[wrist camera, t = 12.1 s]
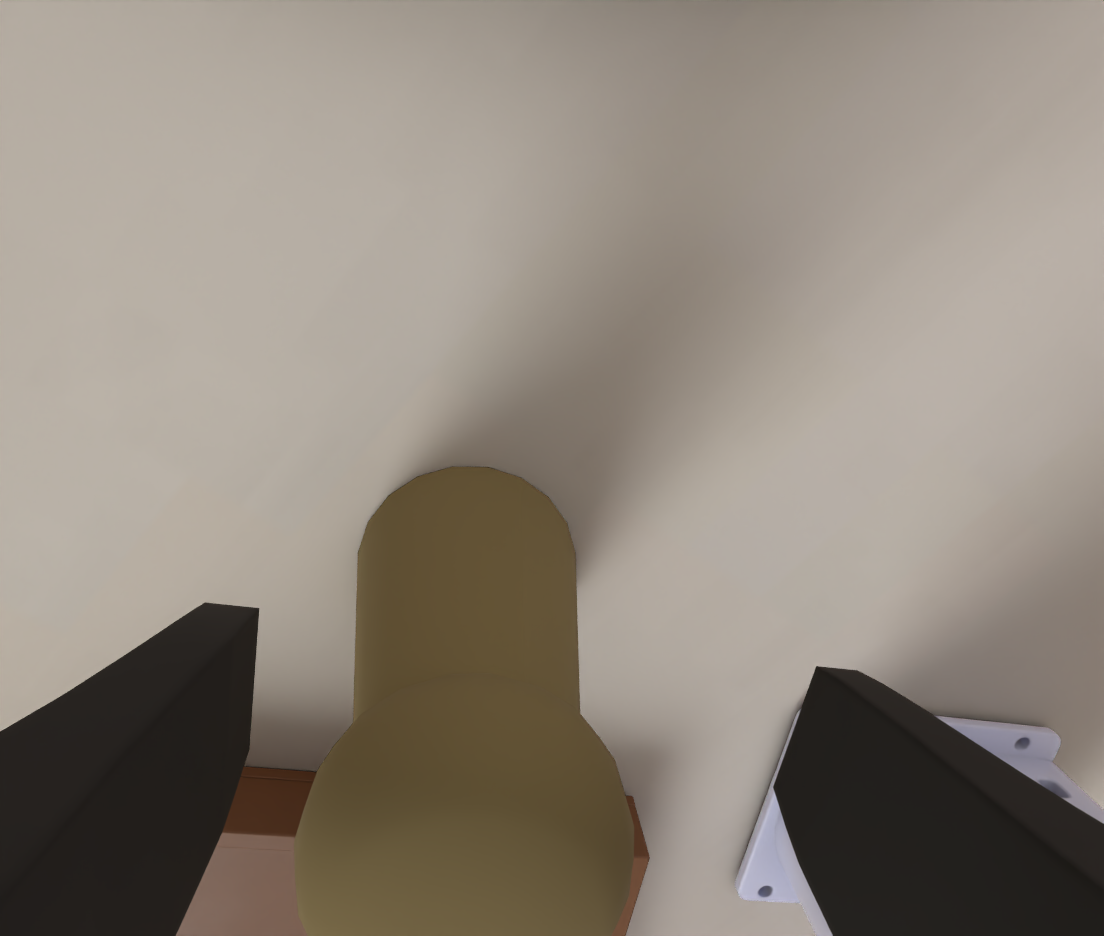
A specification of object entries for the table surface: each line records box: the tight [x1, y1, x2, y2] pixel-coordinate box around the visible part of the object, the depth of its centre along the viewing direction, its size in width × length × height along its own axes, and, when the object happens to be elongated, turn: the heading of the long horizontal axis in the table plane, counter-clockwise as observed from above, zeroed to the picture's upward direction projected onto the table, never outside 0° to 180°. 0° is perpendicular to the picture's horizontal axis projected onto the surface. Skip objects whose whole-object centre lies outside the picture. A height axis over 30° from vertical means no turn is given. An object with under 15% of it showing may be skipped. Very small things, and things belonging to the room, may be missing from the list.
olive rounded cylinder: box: [294, 467, 634, 936], centre depth 15 cm, size 6×6×11 cm
